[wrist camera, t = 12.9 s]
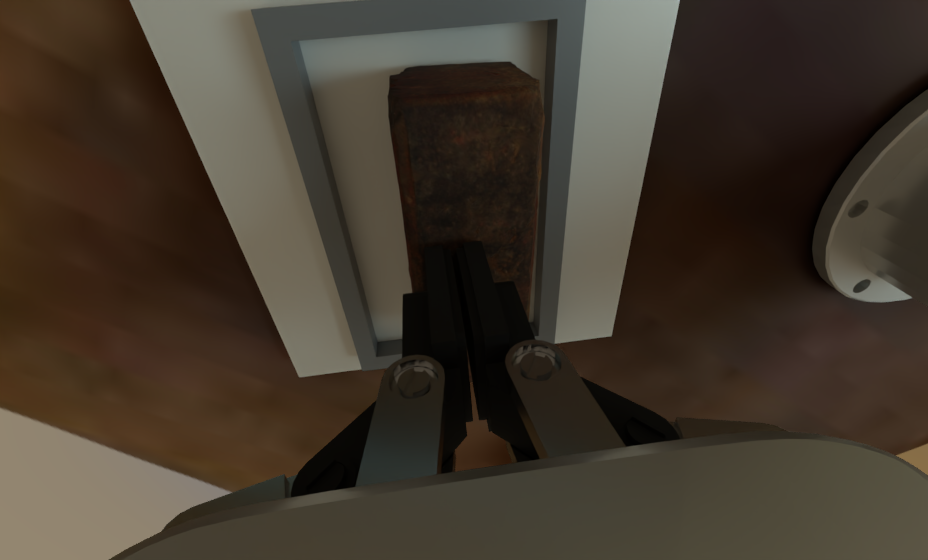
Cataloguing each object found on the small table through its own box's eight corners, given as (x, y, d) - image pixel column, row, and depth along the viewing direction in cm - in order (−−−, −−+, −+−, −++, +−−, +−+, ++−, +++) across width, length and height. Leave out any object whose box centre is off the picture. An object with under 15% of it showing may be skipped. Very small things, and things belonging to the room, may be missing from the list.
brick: (387, 64, 13) (380, 97, 9) (511, 57, 13) (554, 87, 9) (419, 318, 19) (423, 400, 15) (503, 310, 19) (527, 388, 16)
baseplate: (671, -61, 13) (713, -69, 11) (602, 320, 22) (619, 349, 20) (142, -22, 12) (97, -23, 10) (304, 359, 21) (294, 393, 20)
